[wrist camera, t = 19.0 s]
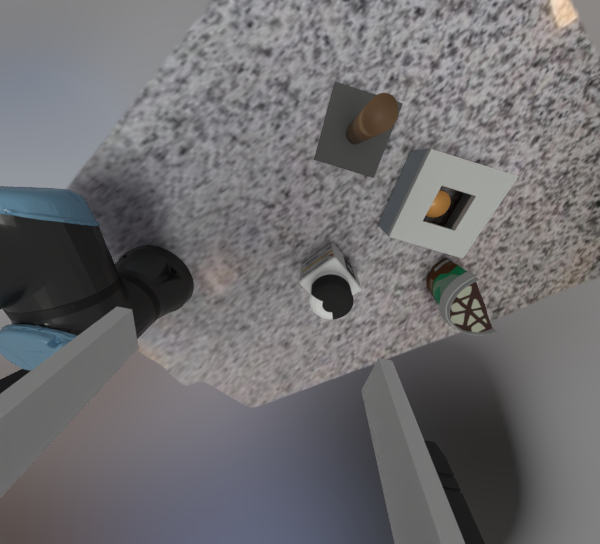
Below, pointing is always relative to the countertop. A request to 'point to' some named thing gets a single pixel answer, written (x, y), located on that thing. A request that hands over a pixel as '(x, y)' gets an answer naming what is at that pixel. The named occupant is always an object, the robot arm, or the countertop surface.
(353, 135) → the stylus
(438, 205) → the button
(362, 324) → the countertop surface
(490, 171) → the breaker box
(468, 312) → the food container
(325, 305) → the container
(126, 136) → the countertop surface
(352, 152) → the pad
